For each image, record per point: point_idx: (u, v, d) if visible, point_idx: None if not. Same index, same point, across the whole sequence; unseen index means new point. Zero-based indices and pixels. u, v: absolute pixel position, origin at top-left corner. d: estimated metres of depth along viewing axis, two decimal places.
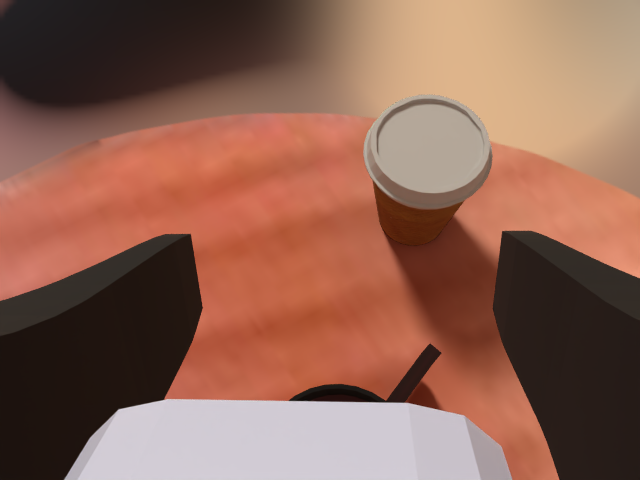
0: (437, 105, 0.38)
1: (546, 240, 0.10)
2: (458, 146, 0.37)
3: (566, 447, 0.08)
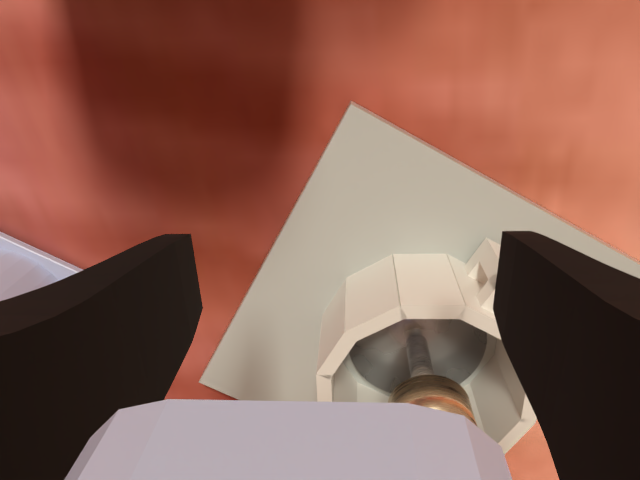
0: None
1: (546, 240, 0.10)
2: None
3: (566, 447, 0.08)
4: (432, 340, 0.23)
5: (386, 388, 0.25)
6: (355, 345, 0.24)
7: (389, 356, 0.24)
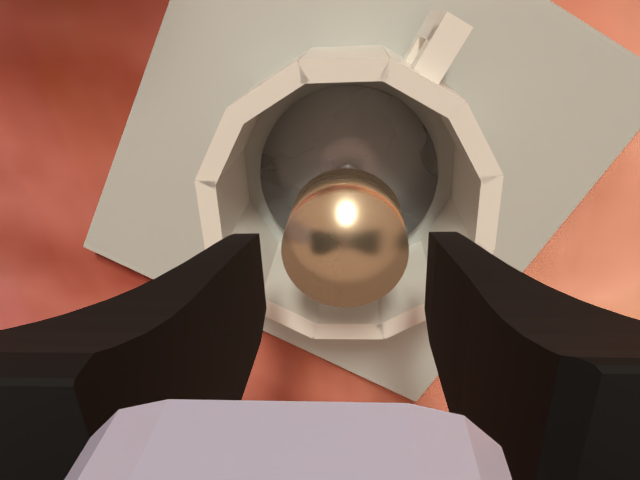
0: None
1: (463, 241, 0.10)
2: None
3: None
4: (368, 172, 0.18)
5: None
6: (270, 182, 0.18)
7: None
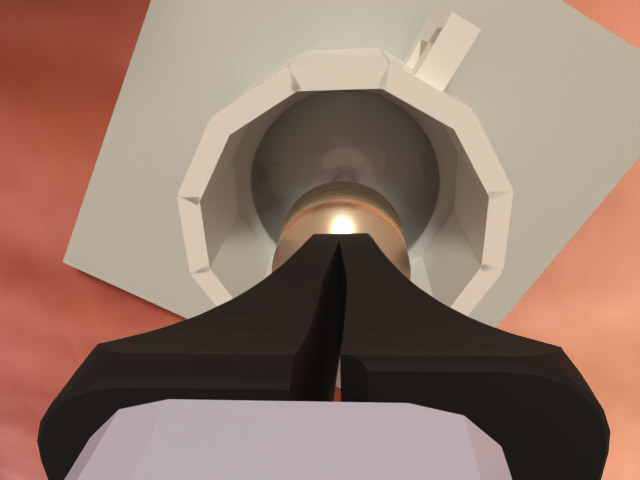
0: None
1: (365, 242, 0.10)
2: None
3: None
4: (365, 182, 0.17)
5: None
6: (261, 193, 0.17)
7: None
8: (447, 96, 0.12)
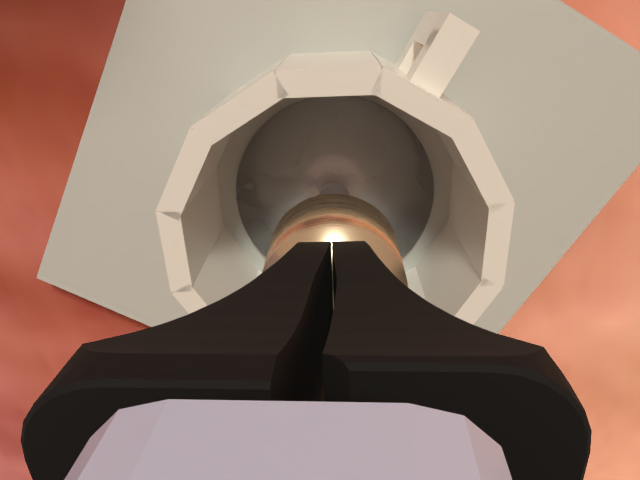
0: None
1: (356, 242, 0.10)
2: None
3: None
4: (357, 191, 0.16)
5: None
6: (247, 203, 0.16)
7: None
8: (445, 103, 0.11)
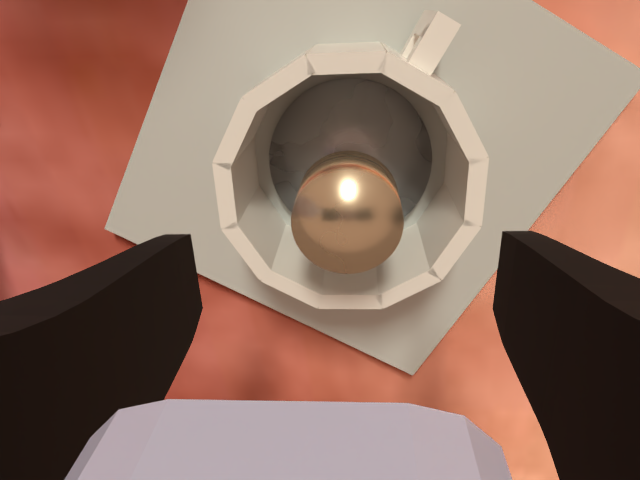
0: None
1: (546, 240, 0.10)
2: None
3: (566, 447, 0.08)
4: None
5: None
6: (278, 168, 0.20)
7: None
8: (434, 79, 0.15)
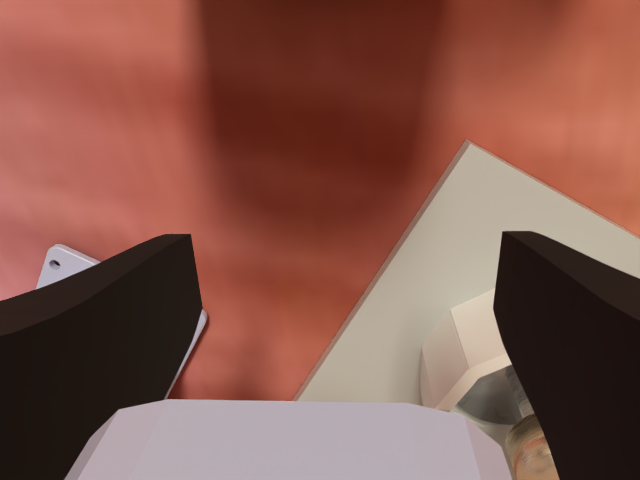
0: None
1: (546, 240, 0.10)
2: None
3: (566, 447, 0.08)
4: None
5: (482, 416, 0.25)
6: None
7: (487, 386, 0.24)
8: None
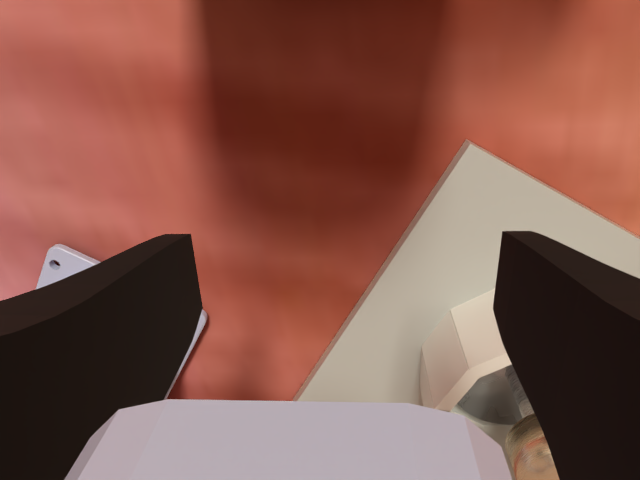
0: None
1: (546, 240, 0.10)
2: None
3: (566, 447, 0.08)
4: None
5: (482, 416, 0.25)
6: None
7: (487, 386, 0.24)
8: None
